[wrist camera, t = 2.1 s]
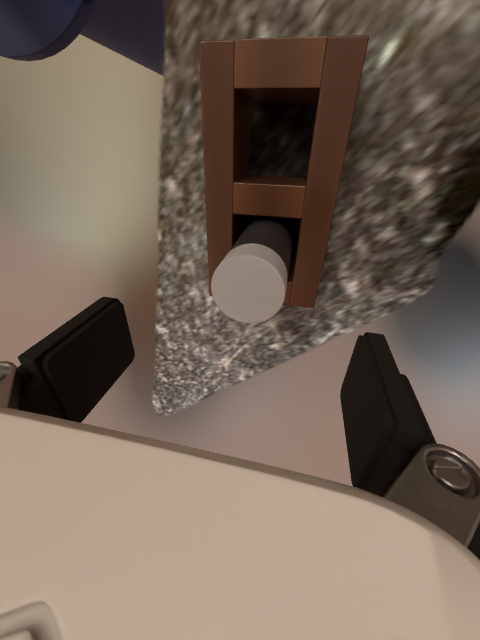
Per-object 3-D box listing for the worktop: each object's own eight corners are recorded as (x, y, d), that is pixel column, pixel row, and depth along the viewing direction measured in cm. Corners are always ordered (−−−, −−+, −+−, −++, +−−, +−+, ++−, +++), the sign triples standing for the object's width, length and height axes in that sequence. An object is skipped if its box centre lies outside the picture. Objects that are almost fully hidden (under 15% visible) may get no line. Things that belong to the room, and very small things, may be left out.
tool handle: (250, 249, 26) (211, 318, 16) (252, 205, 24) (209, 251, 13) (291, 252, 26) (280, 328, 15) (297, 208, 23) (290, 259, 13)
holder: (226, 269, 28) (209, 295, 23) (225, 67, 19) (198, 39, 15) (312, 278, 27) (314, 308, 22) (352, 65, 18) (369, 34, 13)
